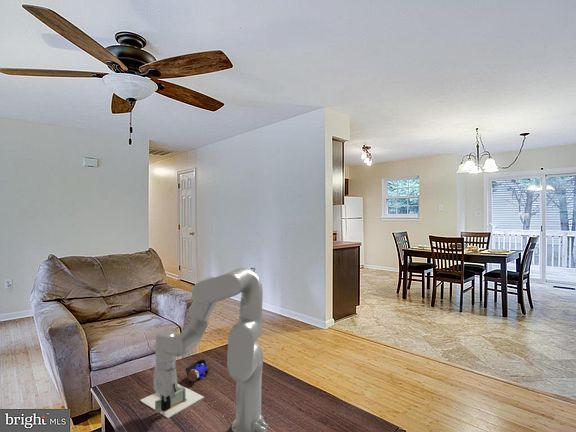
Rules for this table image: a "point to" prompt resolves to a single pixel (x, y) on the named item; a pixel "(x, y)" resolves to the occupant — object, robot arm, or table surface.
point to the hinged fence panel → (178, 398)
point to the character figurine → (197, 370)
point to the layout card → (190, 399)
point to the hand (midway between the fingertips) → (165, 409)
